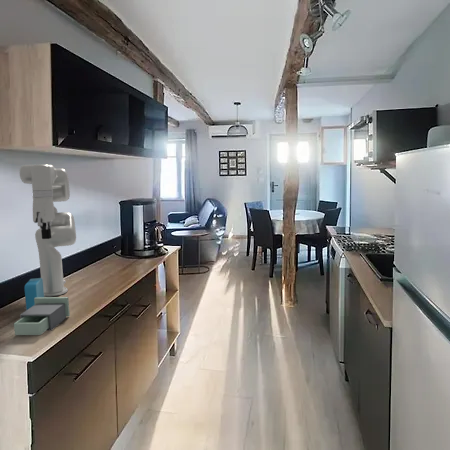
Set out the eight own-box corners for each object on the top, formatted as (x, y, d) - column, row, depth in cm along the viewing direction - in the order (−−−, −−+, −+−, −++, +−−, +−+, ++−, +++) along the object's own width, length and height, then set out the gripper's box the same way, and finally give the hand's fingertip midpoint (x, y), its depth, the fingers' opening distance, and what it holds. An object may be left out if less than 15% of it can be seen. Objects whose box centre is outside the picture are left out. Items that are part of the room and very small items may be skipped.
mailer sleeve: (38, 318, 152) (36, 303, 151) (65, 318, 152) (64, 303, 151) (21, 330, 140) (19, 314, 139) (51, 330, 140) (50, 314, 139)
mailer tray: (37, 315, 153) (35, 297, 152) (69, 315, 153) (68, 297, 152) (9, 336, 134) (7, 315, 133) (46, 335, 134) (44, 314, 133)
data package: (33, 304, 168) (31, 277, 167) (44, 303, 169) (42, 277, 168) (26, 314, 157) (24, 285, 155) (38, 313, 158) (36, 284, 156)
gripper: (43, 194, 168) (46, 235, 171) (24, 196, 153) (28, 241, 156) (60, 193, 168) (63, 235, 170) (43, 195, 153) (46, 241, 155)
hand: (46, 238), depth 163 cm, fingers closed
